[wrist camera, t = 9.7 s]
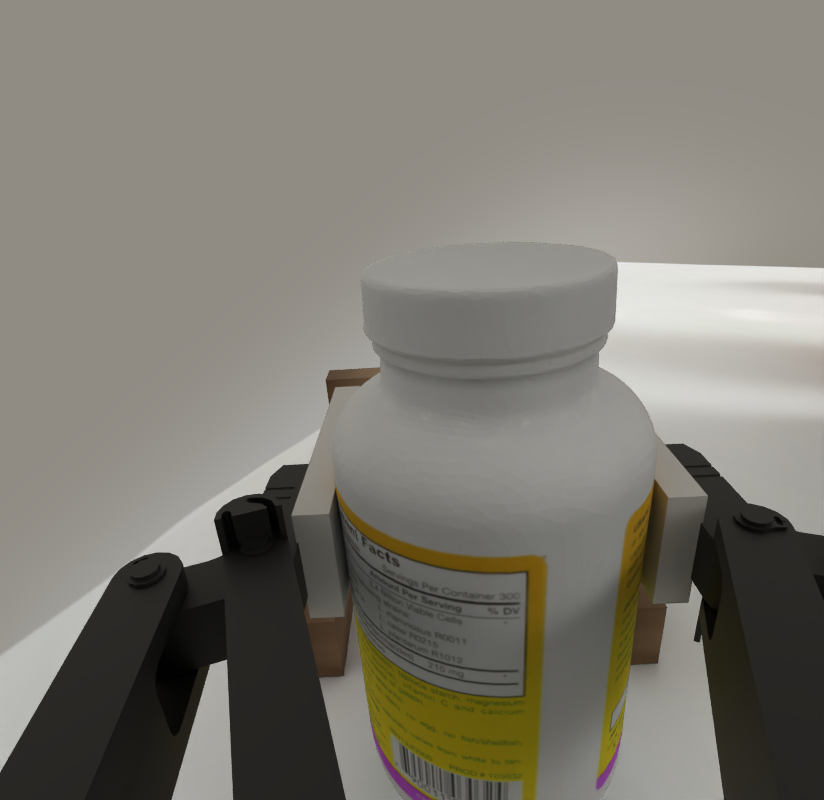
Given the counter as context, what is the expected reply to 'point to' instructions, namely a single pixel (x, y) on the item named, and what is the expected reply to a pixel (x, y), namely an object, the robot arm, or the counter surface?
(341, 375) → the u-shaped wooden bracket
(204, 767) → the counter surface
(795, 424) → the counter surface
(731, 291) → the counter surface
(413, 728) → the supplement bottle
